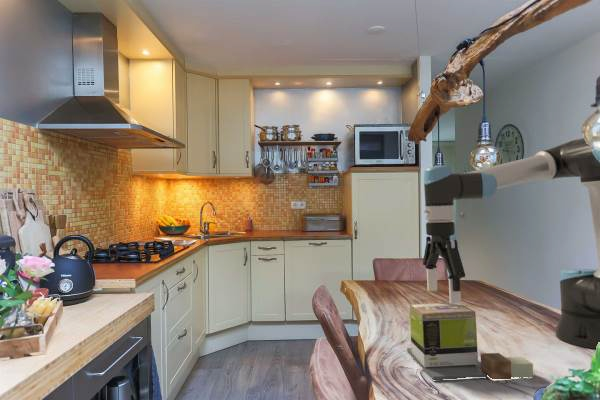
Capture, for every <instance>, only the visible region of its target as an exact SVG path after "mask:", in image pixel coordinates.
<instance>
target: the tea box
mask: <svg viewBox="0 0 600 400" xmlns="http://www.w3.org/2000/svg"><path fill="white" fill-rule="evenodd" d="M409 317H410V318H409V321H410V345H411V347H410V348H412V353H413V355H414V356H415V357H416V358H417V359H418V360H419V361H420V362H421V364H422V365H423V366H424V367H441V366H461V365H476V366H477V365H479V355H478V352H479V351H478V335H477V334H478V332H477V318H476V311H475V310H473V309H471V308H469V307H467V306H465V305H463V304H462V303H454V304H451V303H450V302H432V303H428V302H427V303H415V304H414V303H413V304H411V303H410V304H409Z"/></svg>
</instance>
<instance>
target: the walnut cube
mask: <svg viewBox="0 0 600 400" xmlns="http://www.w3.org/2000/svg"><path fill="white" fill-rule="evenodd" d="M505 357H506V356H504V355H502V354H501V353H499V352H489V353H485V352H484V353H480V369H481V370H482V371H483V372H484V373H486V375H488V376H489V377H490V378H492V379H511V361H510V360H508V359H507V358H505Z"/></svg>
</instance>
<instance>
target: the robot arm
mask: <svg viewBox="0 0 600 400" xmlns="http://www.w3.org/2000/svg"><path fill="white" fill-rule="evenodd" d="M584 138H585V137H583V138H579V139H575V140H570V141H567V142H565V143H562V144H559V145H556V146H554V147H551V148H547V149H546V150H541V151H538V152H536V153H535V154H534V155H533V156H529V157H526V158H525V157H524V158H522V159H517V160H513V161H509V162H504V163H500V164H497V165H493V166H489V167H485V168H481V169H475V170H472V171H468V172H464V173H463V172H461V173H456V172H454V171H453V167H452V166H448V165H447V166H446V165H438V166H430V167H427V168H425V170H424V172H423V174H424V175H423V187H424V188H423V190H424V202H425V203H424V207H425V210H424V214H425V220H426V223H425V230H426V231H425V232H426V233H425V234H426V235H427V236H426V239H425V240H426V241H425V249H424V254H423V261H422V265H423V266H425V269H426V281H427V282H426V284H427V291H428V292H437V291H438V274H437V273H438V272H437V268H438V267H437V262H438V261H439V258H440V257H441V258H442V259H443V261H444V264H445V267H446V269H447V271H448V274H449V275H448V277H447V278H448V292H449V294H448V295H449V303H451V304H454V303H459V304H462V294H461V293H462V292H461V290H462V289H461V279H463V278H466V273H465V269H464V266H463V262H462V258H461V255H460V252H459V249H458V248H459V247H458V240H456V239H451V237H452V236H455V233H456V229H455V225H456V224H455V222H454V220H455V206H454V203H455V200H484V199H492V198H493V197H494V196H496V193H497V191H498V190H499V189H504V188H507V187H513V186H515V185H519V184H523V183H528V182H532V181H536V180H542V181H543V180H544V181H549V180H553V179H561V178H580V179H579V180H580V184H581V185H583V186H584V187H586V188H587V189H588V195H589V203H590V209H591V211H590V212H591V216H592V224H593V229H594V238H595V245H596V252H597V259H598V266H599V267H598V269H597V268H595V269H594V268H567V269H566V268H565V269H563V270H561V272H560V278H559V285H560V286H559V287H560V307H561V308H560V310H561V313H560V315H559V316H560V317H559V320H558V322H557V325H556V327H555V337H556V338H558V339H559V340H560V341H562V342H565V343H568V344H570V345H574V346H577V347H580V348H587V349H595V350H597V349H596V346H597V344H598V342H600V150H599V149H600V148H598V149H597V147H596V148H595V147H591V146H590V145H588V144H586V142H585V140H584ZM594 148H595V149H594ZM596 149H597V150H596ZM598 150H599V151H598Z"/></svg>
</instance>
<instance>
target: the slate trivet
mask: <svg viewBox="0 0 600 400" xmlns="http://www.w3.org/2000/svg"><path fill="white" fill-rule="evenodd" d="M406 351H407V353H408V355H409V356H410V355H411V356H412V357H413V358H412V357H411V356H410V357H411V358H412V359H413V360H414V359H415V360H414V361H415V363H416V364H417V365H418V364H419V365H420V366H421V367H422V368H423V369H422V368H421V367H420V366H419V365H418V366H419V367H420V368H421V369H422V370H423V371H424V373H427V374H428V375H429V376H430V377H431V378H432V379H433V380H443V379H457V378H466V377H487V375H486V373H484V372H483V371H482V370H481V368H480V367H478V366H477V365H461V366H441V367H424V366H423V365H422V364H421V362H420V361H419V360H418V359H417V358H416V357H415V356H414V355H413V353H412V348H411V347H407V349H406ZM427 374H426V375H427ZM428 375H427V376H428ZM429 376H428V377H429ZM430 377H429V378H430ZM431 378H430V379H431ZM432 379H431V380H432ZM433 380H432V381H433Z"/></svg>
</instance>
